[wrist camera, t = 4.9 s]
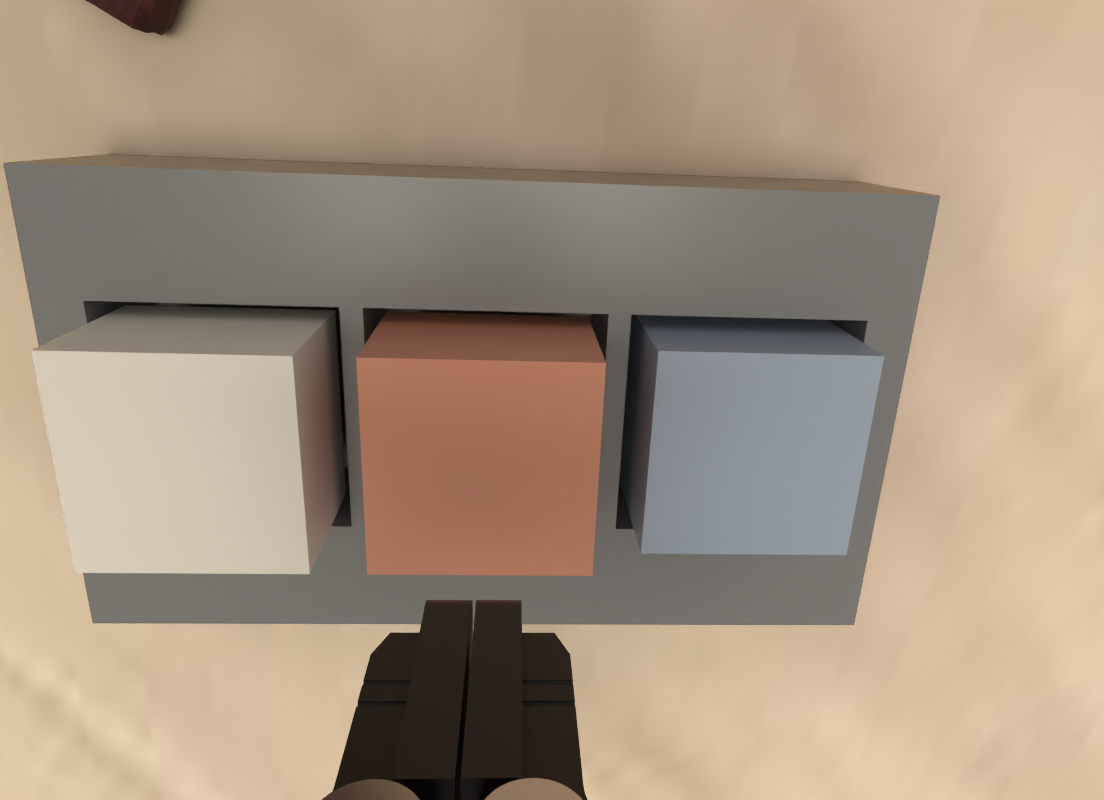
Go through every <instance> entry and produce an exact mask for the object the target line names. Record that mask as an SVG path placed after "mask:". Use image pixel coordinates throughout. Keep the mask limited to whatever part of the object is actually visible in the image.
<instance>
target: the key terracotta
mask: <svg viewBox="0 0 1104 800" xmlns="http://www.w3.org/2000/svg"><path fill="white" fill-rule="evenodd" d="M356 362H357V382H358V401H359V421H360V441H361V461H362V481H363V500H364V520H365V540H366V560H367V575H524V576H592V575H593V560H594V544H595V528H596V512H597V497H598V481H599V465H600V450H601V434H602V418H603V402H604V387H605V371H606V362H605V359H604V356H603V354H602V351H601V349H600V346H599V343H598V341H597V338H596V336H595V333H594V330H593V328H592V325H591V323H590V320H589V317H576V316H536V315H496V314H457V313H417V312H386V313H385V315H384V316H383V318H382V319H381V321H380V322H379V324H378V326H377V327H376V329H375V330H374V332H373V333H372V335H371V336H370V338H369V339H368V341H367V342H366V344H365V345H364V347H363V348H362V350H361V351H360V353H359V354H358V356H357V357H356Z"/></svg>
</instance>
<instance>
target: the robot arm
mask: <svg viewBox="0 0 1104 800" xmlns="http://www.w3.org/2000/svg"><path fill="white" fill-rule="evenodd" d="M322 800H587V798H586V795H585V792H584V787H583V778H582V768H581V758H580V748H579V738H578V728H577V718H576V708H575V699H574V689H573V679H572V669H571V659H570V654H569V652H568V651H567V650H566V648H565V647H564V645H563V644H562V643H561V641H560V640H559V639H558V637H557V636H556V634H555V633H522V605H521V600H476V606H475V617H474V629H473V601H472V600H426V603H425V607H424V613H423V618H422V623H421V628H420V633H390V634H389V635H388V636H387V637H386V638H385V639H384V640H383V642H382V643H381V644H380V645H379V646H378V647H377V648H376V649H375V650H374V652H373V653H372V654H371V655H370V659H369V663H368V666H367V670H366V674H365V677H364V684H363V685H362V688H361V692H360V695H359V699H358V706H357V707H356V710H355V714H354V717H353V721H352V724H351V728H350V732H349V735H348V739H347V743H346V746H345V750H344V753H343V757H342V761H341V764H340V768H339V772H338V775H337V779H336V782H335V786H334V789H333V792H331V793H330V794H329V795H327V796H326V797H325V798H323V799H322Z"/></svg>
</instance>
